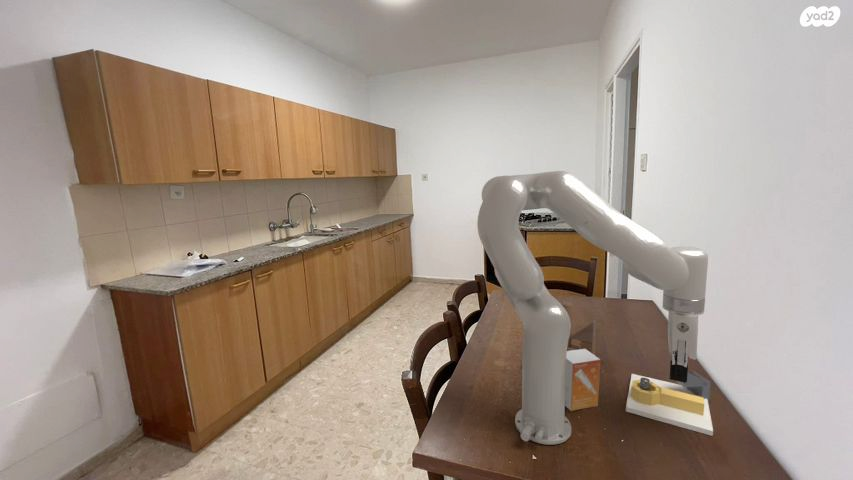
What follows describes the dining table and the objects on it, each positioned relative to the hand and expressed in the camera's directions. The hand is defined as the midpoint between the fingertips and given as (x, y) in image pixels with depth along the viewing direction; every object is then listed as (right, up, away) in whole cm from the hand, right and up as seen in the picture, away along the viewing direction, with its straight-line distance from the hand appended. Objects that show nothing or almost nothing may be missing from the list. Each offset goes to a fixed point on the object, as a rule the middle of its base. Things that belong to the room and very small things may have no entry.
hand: (678, 379), depth 82 cm
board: (+4, -10, +10) cm, 14 cm away
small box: (-18, -11, +11) cm, 24 cm away
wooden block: (-9, -7, +34) cm, 36 cm away
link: (+2, -9, +8) cm, 12 cm away
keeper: (+11, -9, +11) cm, 18 cm away
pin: (-1, -10, +11) cm, 15 cm away
